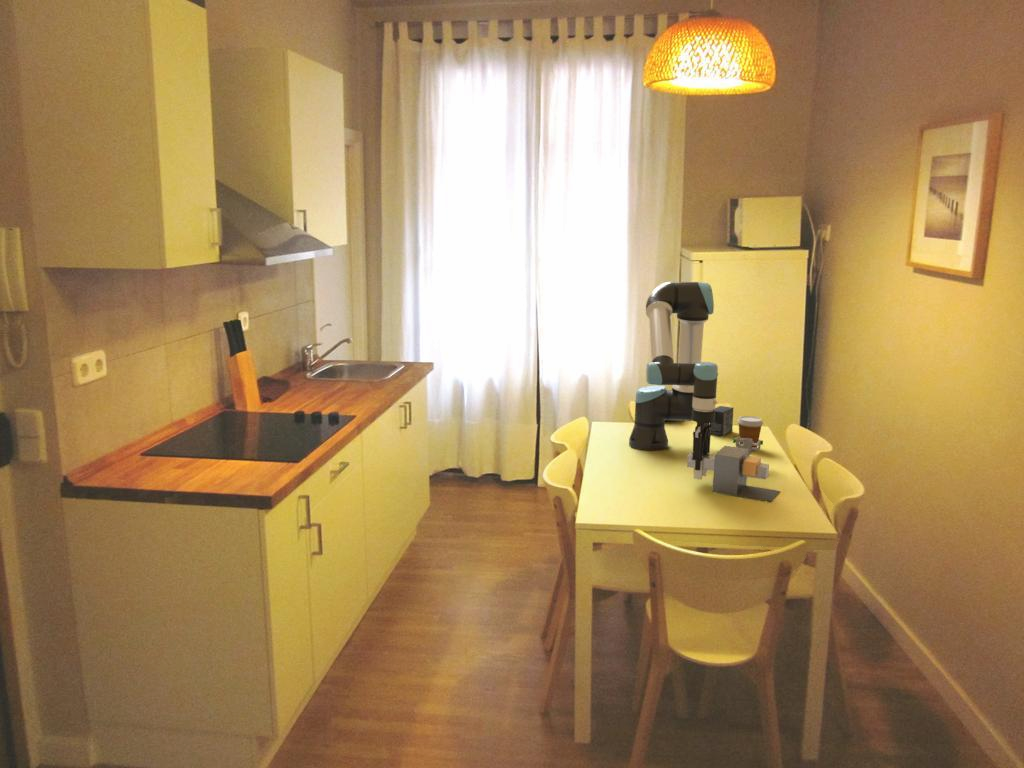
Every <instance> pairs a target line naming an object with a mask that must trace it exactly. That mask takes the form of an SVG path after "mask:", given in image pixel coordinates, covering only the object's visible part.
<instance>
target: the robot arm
mask: <svg viewBox="0 0 1024 768" xmlns="http://www.w3.org/2000/svg"><path fill="white" fill-rule="evenodd" d="M714 305H715V304H714V294H713V289H712V286H711V284H709V283H708V282H702V281H667V282H663V283H661V284H660V285H658V286H656V287H655V288H654V289H653V291H652V292H651V293H650V294H649V296H648V298H647V300H646V303H645V315H646V317H647V318H648V321H649V336H650V338H649V339H650V355H651V356H650V358H651V362H648V363H647V364H646V368H645V369H646V370H645V371H646V373H645V374H646V377H645V379H646V383H647V384H649V385H647V386H646V385H645V386H643V387H641V388H639V389H637V390H636V391H635V399H634V403H635V404H634V405H635V406H634V425H633V428H632V431H631V433H630V436H629V438H628V439H629V440H628V445H629V446H630V447H631V448H633V449H636V450H637V449H638V450H643V451H644V450H645V451H661V450H665V449H668V448H669V447H668V446H669V439H668V435H667V431H666V429H665V426H666V425H665V424H666V423H665V422H666V421H681V422H682V421H685V422H691V421H692V422H695V423H696V426H695V429H694V431H693V433H692V438H693V439H692V453H693V457H692V460H694V468H693V476H692V477H693V478H692V479H695V480H700V481H702V480H703V476H704V477H706V476H707V470H703V460H702V456H703V454H704V455H711V453H710V449H711V436H712V435H711V428H712V425H711V424H710V423H712V422H714V421H715V410H714V409H715V408H716V404H718V401H717V388H718V387H717V386H718V377H719V373H718V372H719V371H718V370H719V369H718V367H719V366H718V365H717V364H716V363H714V362H710V361H709V362H708V361H702V352H703V339H704V338H703V337H704V324H705V323H706V322H707V321H708V320H709V315H712V314H714V308H715V307H714ZM673 314H676V319H677V320H678V321H679V322H680V326H679V327H680V329H679V340H678V341H679V343H678V357H677V363H676V362H675V361H674V359H675V358H674V348H673V336H672V324H671V323H672V322H671V317H672V315H673ZM666 386H671V390H670V389H668V388H667V387H666ZM667 389H668V390H667Z"/></svg>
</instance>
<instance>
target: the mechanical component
mask: <svg viewBox="0 0 1024 768" xmlns="http://www.w3.org/2000/svg"><path fill="white" fill-rule="evenodd" d="M740 442H743V444H740ZM732 443H733V444H735V447H738V448H745V449H749V454H748V456H751V455H752V451H751V450H754V451H755V452H756V451H757V452H758V451H760V450H761V445H762V446H763V444H764V440H761V439H759V440H758V442H757V443H753V441H752V439H751V438H739V437H738V436H737V437H735V438H733V440H732ZM752 446H757V448H752Z"/></svg>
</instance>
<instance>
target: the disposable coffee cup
mask: <svg viewBox="0 0 1024 768" xmlns="http://www.w3.org/2000/svg"><path fill="white" fill-rule="evenodd" d="M737 424H738V436H739V437H738V438H751V439H752V441H753V443H757V442H758V440H760V434H761V430H762V426H763V424H764V422H763V419H762V418H761V417H757V416H749V415H746V416H745V415H742V416H740V417H738V420H737ZM739 444H743V442H739ZM757 447H758V446H752V448H757ZM752 451H753V450H751V452H752Z"/></svg>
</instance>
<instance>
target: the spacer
mask: <svg viewBox="0 0 1024 768" xmlns="http://www.w3.org/2000/svg"><path fill="white" fill-rule="evenodd" d="M759 463H762V457H761V456H760V457H758V456H752V455H749V456H748V457H747V458H746V459H745V460H744V462H743V474H744V475H751V476H756V469H757V465H758V464H759Z"/></svg>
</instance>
